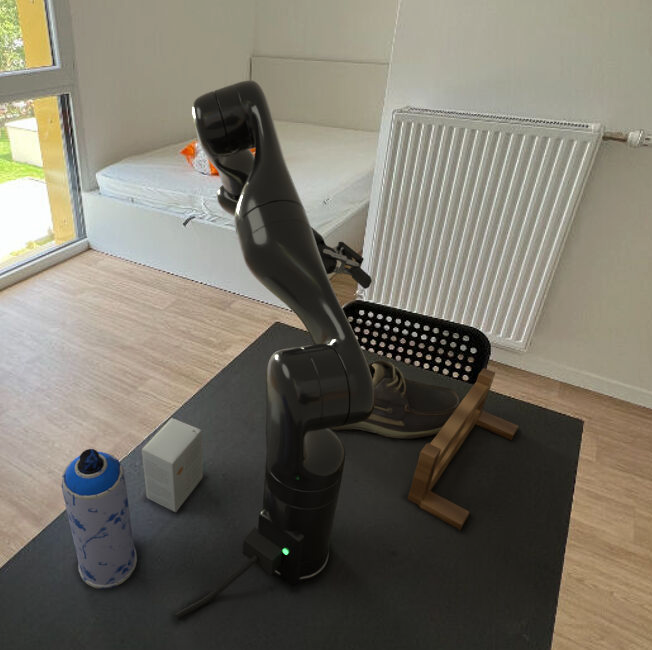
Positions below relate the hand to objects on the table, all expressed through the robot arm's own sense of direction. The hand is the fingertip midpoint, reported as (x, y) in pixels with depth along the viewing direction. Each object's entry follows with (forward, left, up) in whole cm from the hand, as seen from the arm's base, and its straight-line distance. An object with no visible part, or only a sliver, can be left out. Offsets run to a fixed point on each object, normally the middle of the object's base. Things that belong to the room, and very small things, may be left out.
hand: (352, 292), depth 92 cm
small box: (-38, +6, -21) cm, 44 cm away
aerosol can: (-53, +4, -21) cm, 58 cm away
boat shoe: (-3, -10, -21) cm, 24 cm away
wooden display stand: (-3, -26, -21) cm, 33 cm away
